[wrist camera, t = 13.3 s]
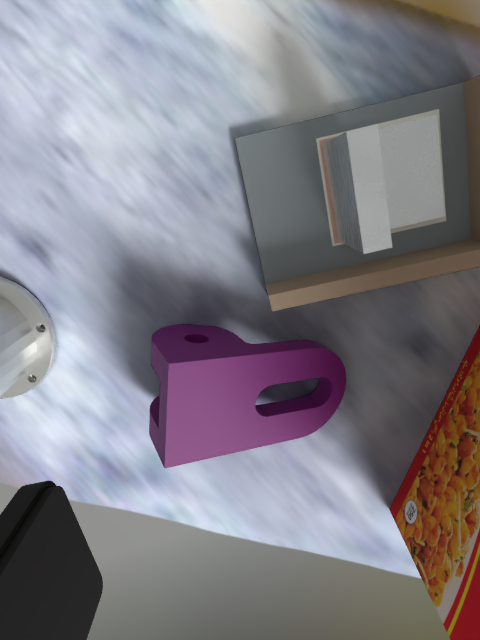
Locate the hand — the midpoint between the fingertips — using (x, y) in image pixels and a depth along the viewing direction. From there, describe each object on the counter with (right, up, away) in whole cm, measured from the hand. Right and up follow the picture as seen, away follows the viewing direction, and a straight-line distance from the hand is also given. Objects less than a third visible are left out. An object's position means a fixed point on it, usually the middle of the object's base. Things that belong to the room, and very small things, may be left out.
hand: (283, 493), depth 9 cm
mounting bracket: (0, -2, +33) cm, 33 cm away
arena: (+10, +15, +27) cm, 32 cm away
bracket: (+11, +15, +26) cm, 32 cm away
